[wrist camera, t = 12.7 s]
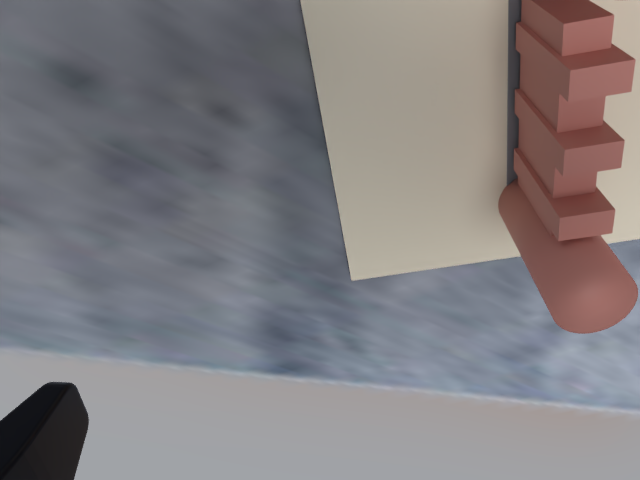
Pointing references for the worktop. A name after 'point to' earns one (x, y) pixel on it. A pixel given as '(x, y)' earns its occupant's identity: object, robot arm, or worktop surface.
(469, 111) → the card
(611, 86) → the fixed fence panel
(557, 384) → the worktop surface
